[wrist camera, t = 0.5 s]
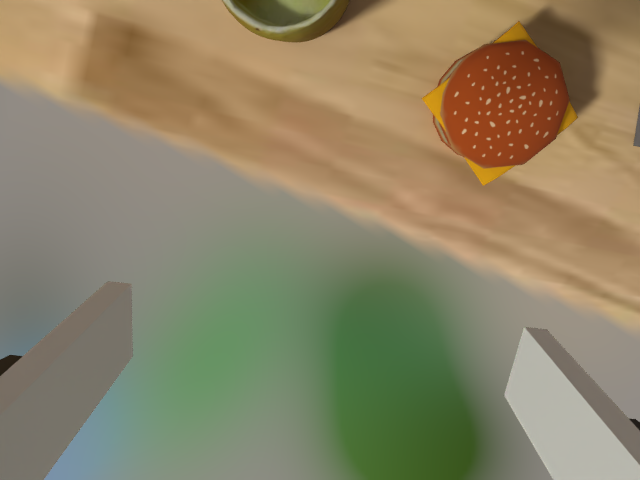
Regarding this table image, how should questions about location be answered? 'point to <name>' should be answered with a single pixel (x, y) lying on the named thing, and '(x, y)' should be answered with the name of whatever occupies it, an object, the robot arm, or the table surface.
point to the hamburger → (501, 104)
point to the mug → (287, 17)
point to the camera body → (637, 132)
